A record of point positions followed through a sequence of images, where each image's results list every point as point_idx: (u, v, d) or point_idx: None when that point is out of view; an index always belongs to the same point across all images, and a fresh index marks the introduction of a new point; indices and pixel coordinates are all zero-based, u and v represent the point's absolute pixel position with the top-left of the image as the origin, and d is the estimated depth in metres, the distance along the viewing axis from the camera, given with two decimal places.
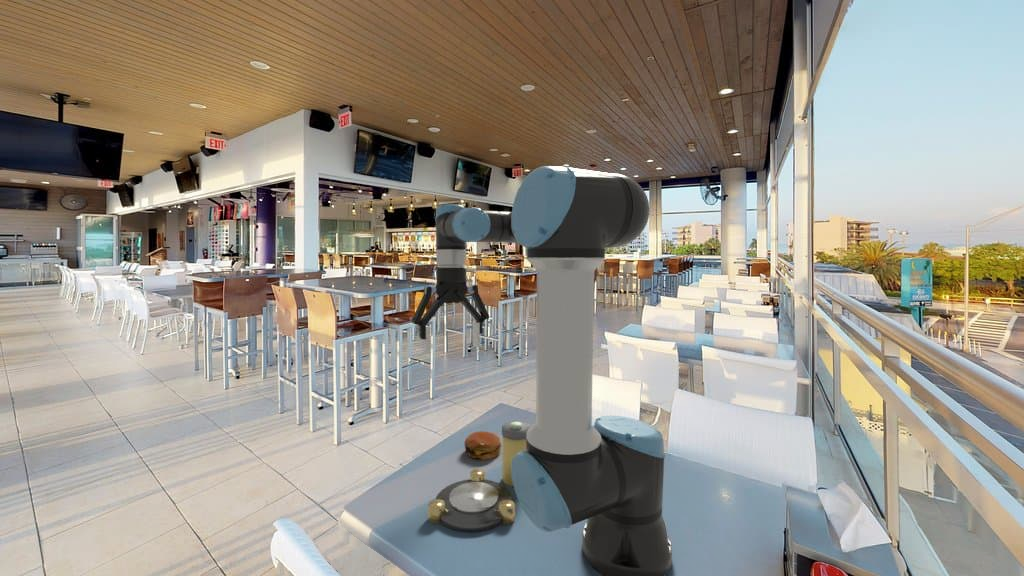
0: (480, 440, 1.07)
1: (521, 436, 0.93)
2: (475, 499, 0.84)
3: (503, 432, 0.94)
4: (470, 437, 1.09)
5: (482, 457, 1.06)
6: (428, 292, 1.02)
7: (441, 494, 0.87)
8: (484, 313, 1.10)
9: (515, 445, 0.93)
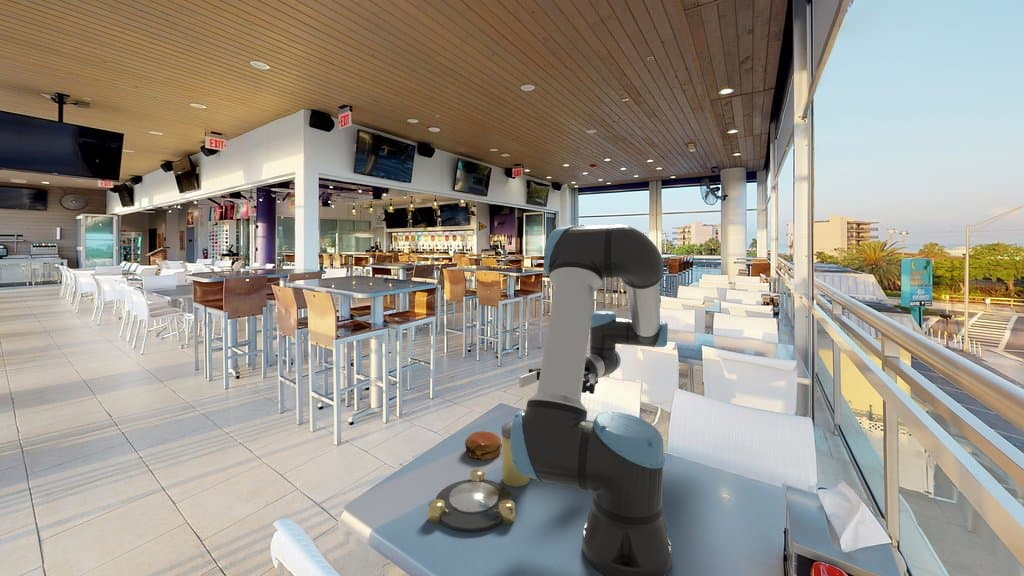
0: (481, 440, 1.07)
1: None
2: (475, 499, 0.84)
3: (503, 432, 0.94)
4: (470, 437, 1.09)
5: (482, 457, 1.06)
6: None
7: (441, 494, 0.87)
8: (590, 381, 1.03)
9: None
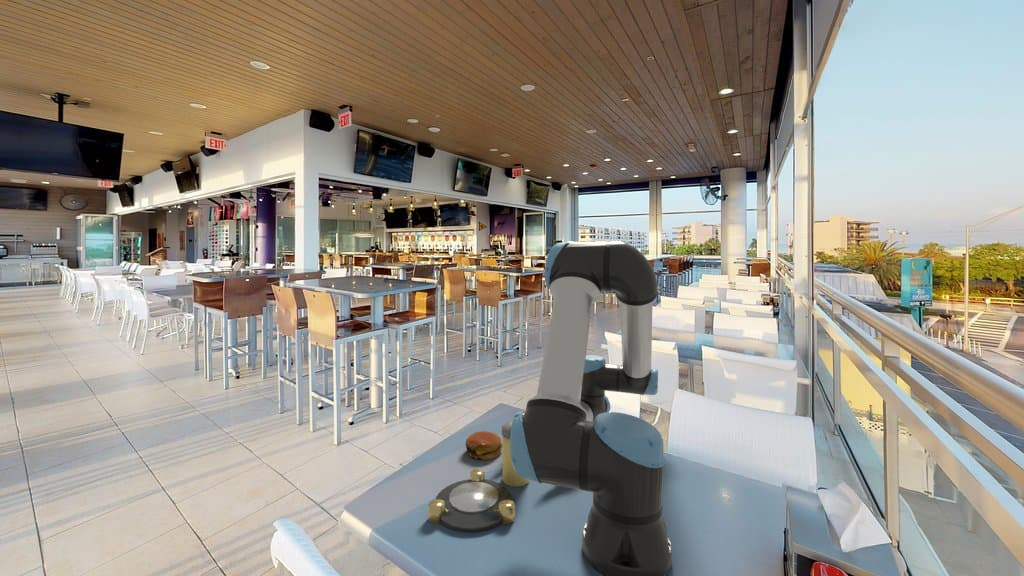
0: (481, 440, 1.07)
1: None
2: (475, 499, 0.84)
3: (503, 432, 0.94)
4: (471, 437, 1.09)
5: (483, 457, 1.06)
6: None
7: (441, 494, 0.87)
8: None
9: None
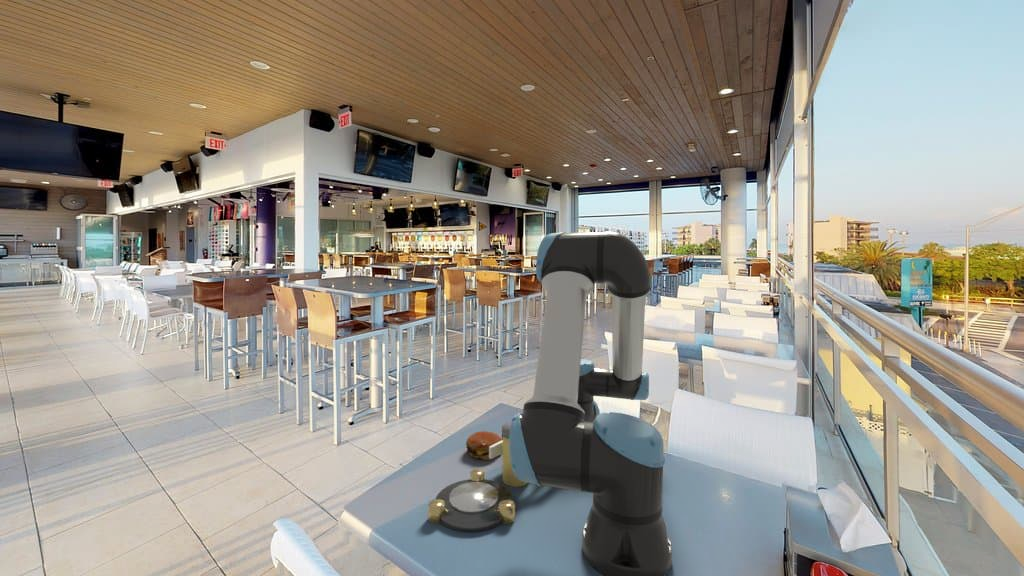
0: (482, 440, 1.07)
1: None
2: (475, 499, 0.84)
3: (503, 432, 0.94)
4: (472, 437, 1.09)
5: (484, 457, 1.05)
6: None
7: (441, 494, 0.87)
8: None
9: None
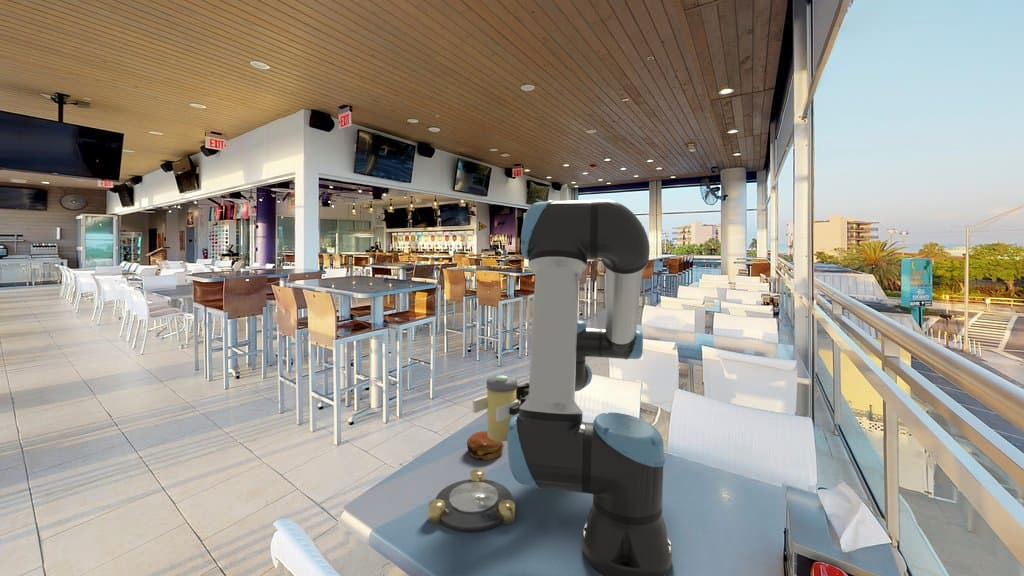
0: (483, 441, 1.07)
1: (506, 388, 0.89)
2: (475, 499, 0.84)
3: (488, 385, 0.90)
4: (472, 437, 1.09)
5: (484, 457, 1.05)
6: None
7: (441, 494, 0.87)
8: None
9: (499, 397, 0.89)
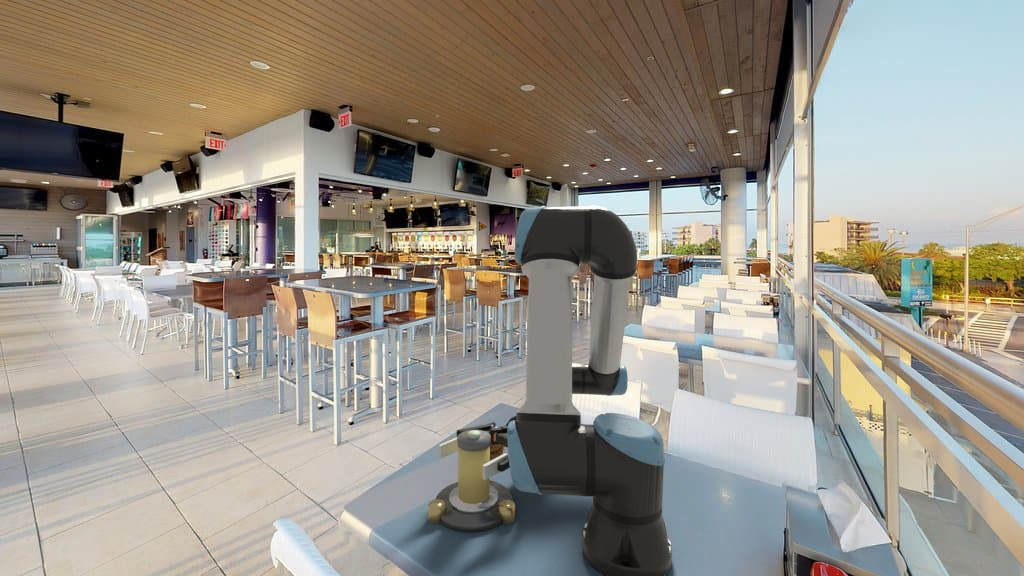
0: None
1: (478, 447, 0.82)
2: None
3: (458, 442, 0.83)
4: None
5: None
6: (489, 424, 0.98)
7: (441, 494, 0.87)
8: None
9: (471, 457, 0.82)
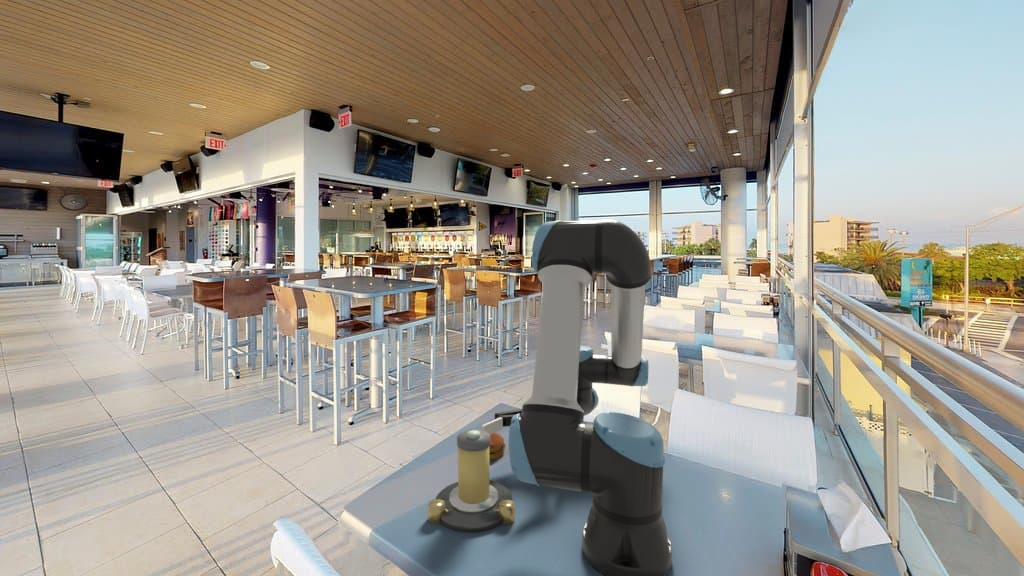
0: None
1: (477, 447, 0.82)
2: None
3: (458, 442, 0.83)
4: None
5: None
6: None
7: (441, 494, 0.87)
8: None
9: (470, 457, 0.82)
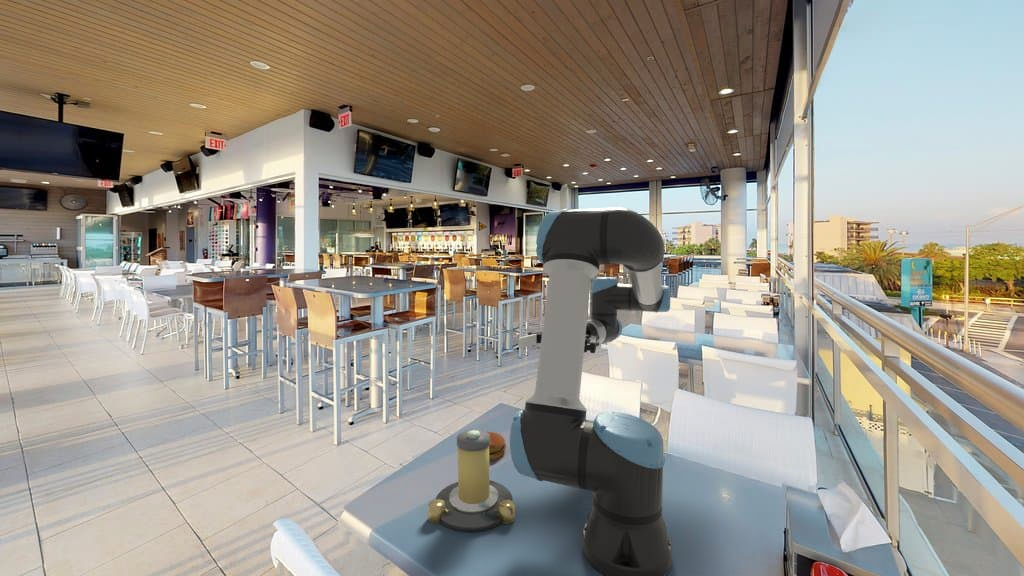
0: None
1: (477, 447, 0.82)
2: None
3: (458, 442, 0.83)
4: None
5: None
6: None
7: (441, 494, 0.87)
8: (591, 341, 1.01)
9: (470, 457, 0.82)
